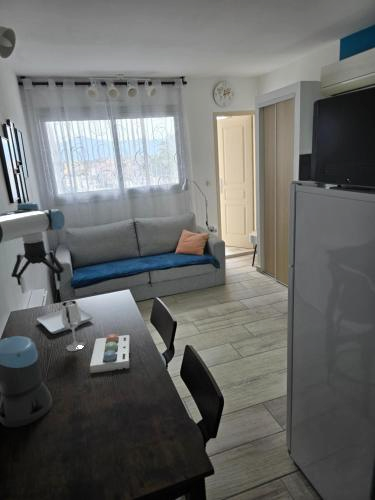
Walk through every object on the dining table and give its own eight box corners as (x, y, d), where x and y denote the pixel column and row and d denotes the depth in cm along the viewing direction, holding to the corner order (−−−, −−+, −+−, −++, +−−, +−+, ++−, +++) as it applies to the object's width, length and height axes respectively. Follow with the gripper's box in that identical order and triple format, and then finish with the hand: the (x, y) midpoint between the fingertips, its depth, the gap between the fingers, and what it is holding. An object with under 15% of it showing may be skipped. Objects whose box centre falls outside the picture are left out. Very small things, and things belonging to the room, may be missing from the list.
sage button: (116, 353, 128) (116, 346, 127) (105, 354, 128) (104, 348, 127) (117, 347, 132) (116, 341, 132) (106, 348, 132) (105, 342, 131)
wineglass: (77, 352, 134) (70, 308, 129) (62, 350, 137) (54, 306, 132) (88, 343, 141) (82, 300, 136) (73, 340, 144) (67, 298, 139)
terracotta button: (117, 344, 135) (116, 338, 134) (106, 345, 134) (105, 339, 133) (118, 339, 139) (117, 333, 138) (107, 340, 138) (106, 334, 137)
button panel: (129, 367, 122) (128, 360, 121) (90, 373, 120) (89, 365, 119) (129, 341, 141) (129, 334, 140) (96, 345, 139) (96, 338, 138)
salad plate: (36, 324, 162) (35, 317, 162) (77, 310, 176) (76, 304, 175) (52, 338, 147) (50, 332, 146) (95, 322, 161) (94, 316, 160)
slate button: (115, 362, 122) (115, 356, 121) (103, 364, 121) (103, 357, 121) (116, 356, 126) (115, 349, 125) (104, 357, 125) (104, 351, 125)
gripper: (66, 236, 138) (73, 284, 143) (3, 241, 133) (12, 290, 138) (63, 240, 131) (70, 289, 136) (-4, 245, 126) (6, 296, 131)
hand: (41, 290), depth 137 cm, fingers open, 13 cm apart
